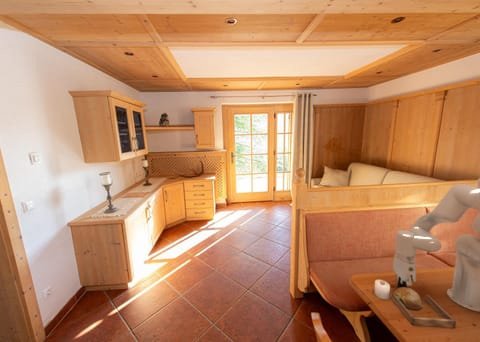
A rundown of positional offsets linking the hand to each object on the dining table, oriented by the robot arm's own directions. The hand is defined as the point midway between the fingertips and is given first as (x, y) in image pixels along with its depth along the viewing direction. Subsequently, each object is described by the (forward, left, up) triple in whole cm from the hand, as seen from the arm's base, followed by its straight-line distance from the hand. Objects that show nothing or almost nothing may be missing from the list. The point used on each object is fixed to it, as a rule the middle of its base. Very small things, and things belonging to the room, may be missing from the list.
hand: (401, 289), depth 98 cm
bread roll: (+2, +7, -1) cm, 7 cm away
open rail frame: (0, +12, -1) cm, 12 cm away
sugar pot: (+11, +3, -1) cm, 12 cm away
